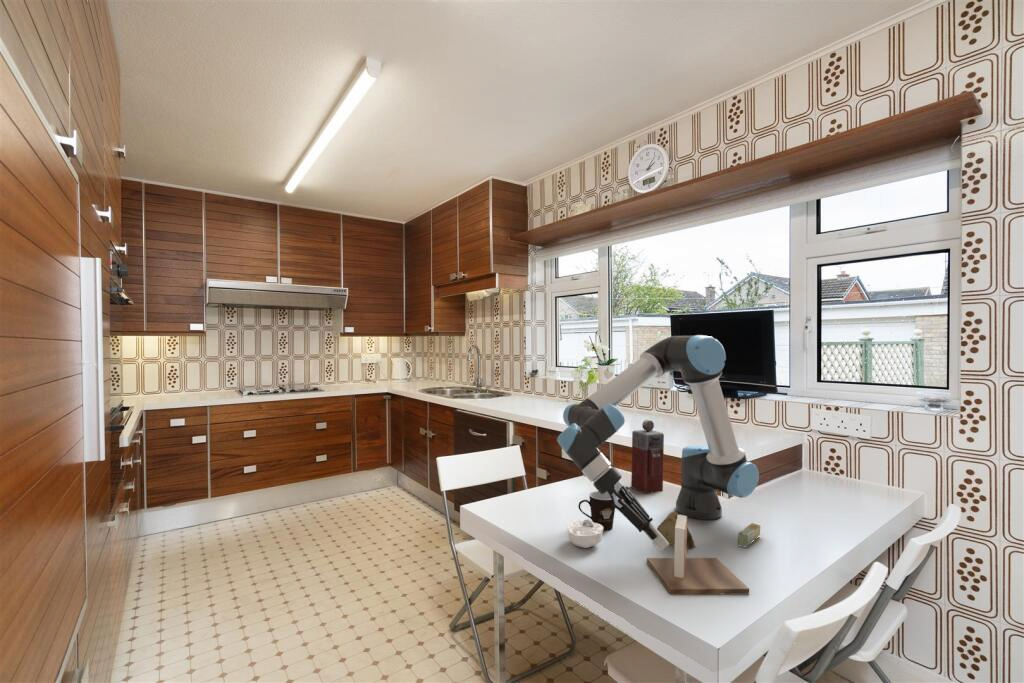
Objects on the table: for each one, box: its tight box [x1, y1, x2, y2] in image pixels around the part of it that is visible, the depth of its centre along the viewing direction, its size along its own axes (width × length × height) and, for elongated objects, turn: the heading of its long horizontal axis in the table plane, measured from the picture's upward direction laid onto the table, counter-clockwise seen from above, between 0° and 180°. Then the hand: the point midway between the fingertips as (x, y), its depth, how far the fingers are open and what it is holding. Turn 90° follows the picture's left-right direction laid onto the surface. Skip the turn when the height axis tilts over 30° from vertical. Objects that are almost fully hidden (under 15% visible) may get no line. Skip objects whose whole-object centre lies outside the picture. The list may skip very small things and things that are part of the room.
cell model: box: [567, 518, 604, 549], centre depth 136 cm, size 10×12×7 cm
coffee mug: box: [577, 490, 616, 532], centre depth 150 cm, size 12×9×10 cm
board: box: [646, 557, 750, 595], centre depth 118 cm, size 19×16×1 cm
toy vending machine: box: [630, 419, 665, 494], centre depth 190 cm, size 9×11×28 cm
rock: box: [656, 511, 696, 549], centre depth 140 cm, size 11×9×10 cm
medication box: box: [737, 522, 761, 548], centre depth 141 cm, size 12×3×4 cm, turn 136°
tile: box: [673, 514, 688, 578], centre depth 120 cm, size 2×10×12 cm, turn 157°
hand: (664, 547), depth 121 cm, fingers closed
